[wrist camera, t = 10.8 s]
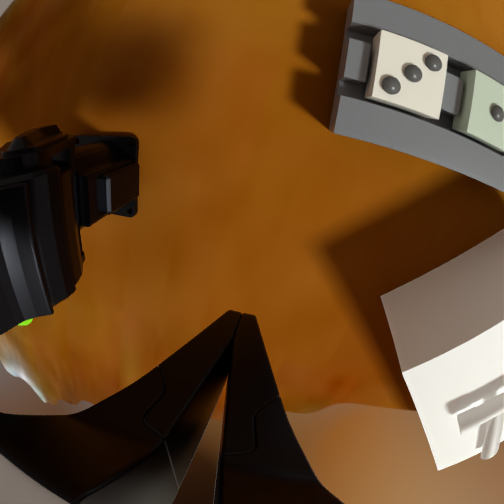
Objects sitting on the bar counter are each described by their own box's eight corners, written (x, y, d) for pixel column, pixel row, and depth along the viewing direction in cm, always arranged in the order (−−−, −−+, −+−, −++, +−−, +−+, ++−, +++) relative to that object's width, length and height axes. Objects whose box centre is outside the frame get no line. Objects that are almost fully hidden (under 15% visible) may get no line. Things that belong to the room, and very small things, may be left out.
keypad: (328, 129, 18) (333, 133, 15) (347, 9, 13) (355, -9, 10) (528, 202, 16) (551, 218, 13) (548, 108, 12) (573, 113, 9)
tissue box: (513, 219, 18) (590, 287, 8) (515, 374, 25) (540, 434, 15) (379, 294, 23) (408, 402, 13) (428, 419, 30) (440, 485, 21)
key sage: (451, 128, 14) (468, 132, 12) (460, 71, 12) (477, 69, 10) (495, 149, 14) (513, 156, 12) (504, 96, 12) (523, 98, 10)
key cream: (364, 97, 14) (372, 96, 12) (373, 37, 12) (382, 28, 11) (425, 117, 14) (440, 119, 12) (434, 59, 12) (449, 54, 10)
